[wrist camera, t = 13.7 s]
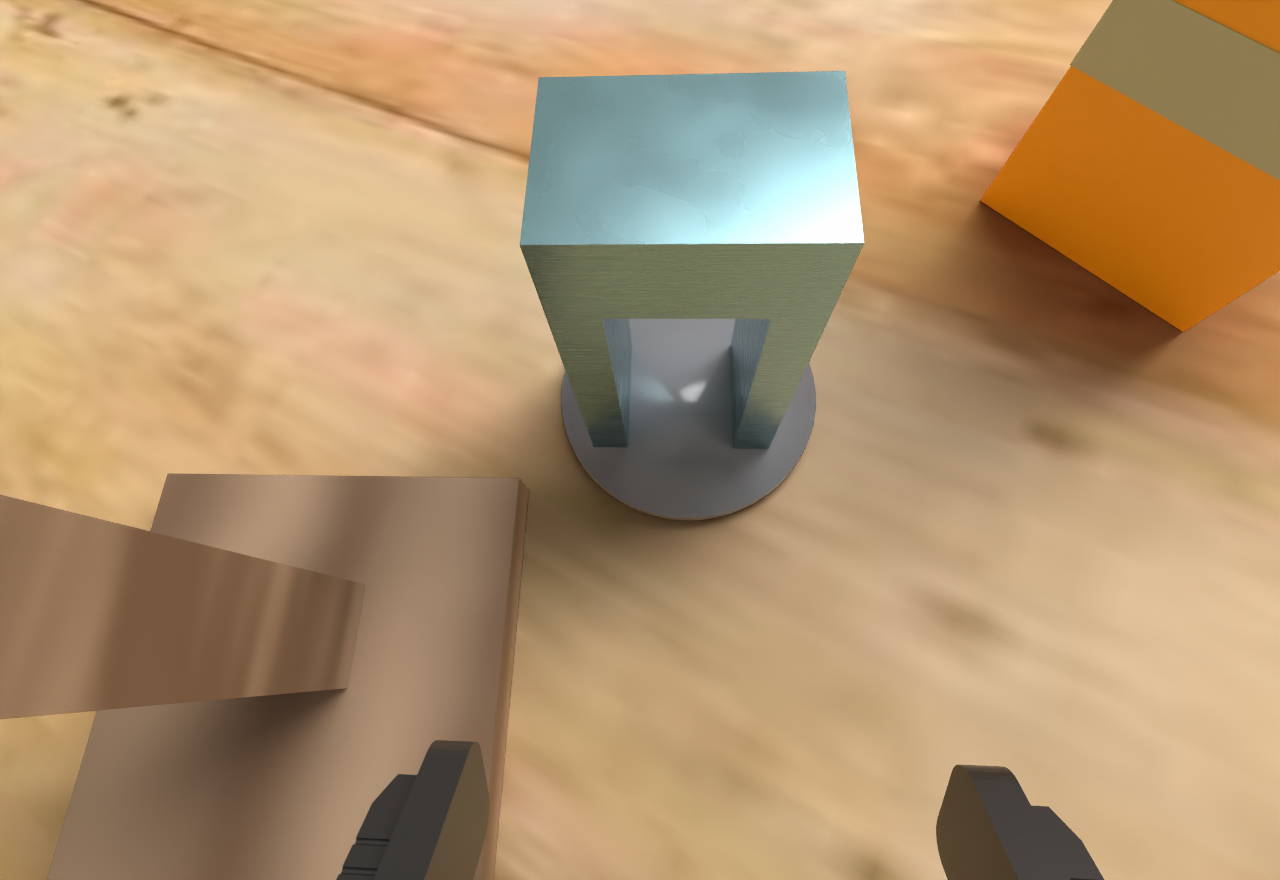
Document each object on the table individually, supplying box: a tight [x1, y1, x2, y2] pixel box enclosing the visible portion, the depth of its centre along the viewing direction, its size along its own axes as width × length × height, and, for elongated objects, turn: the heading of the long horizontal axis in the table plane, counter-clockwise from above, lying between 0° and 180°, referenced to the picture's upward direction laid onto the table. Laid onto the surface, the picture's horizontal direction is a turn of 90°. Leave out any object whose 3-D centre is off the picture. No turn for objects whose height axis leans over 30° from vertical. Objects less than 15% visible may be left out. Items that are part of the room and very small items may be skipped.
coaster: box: [561, 319, 816, 521], centre depth 22 cm, size 9×9×1 cm
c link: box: [520, 71, 864, 449], centre depth 17 cm, size 6×4×11 cm, turn 88°
